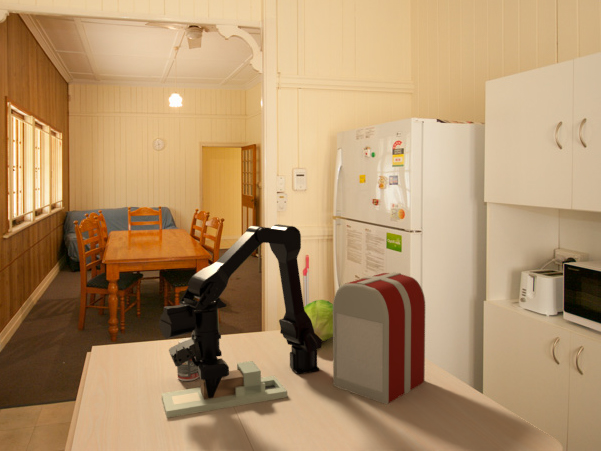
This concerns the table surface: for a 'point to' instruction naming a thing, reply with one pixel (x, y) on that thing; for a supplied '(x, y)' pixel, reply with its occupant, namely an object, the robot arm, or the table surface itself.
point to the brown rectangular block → (225, 384)
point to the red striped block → (379, 336)
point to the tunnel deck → (249, 393)
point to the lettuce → (321, 318)
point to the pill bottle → (187, 368)
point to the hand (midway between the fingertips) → (208, 393)
